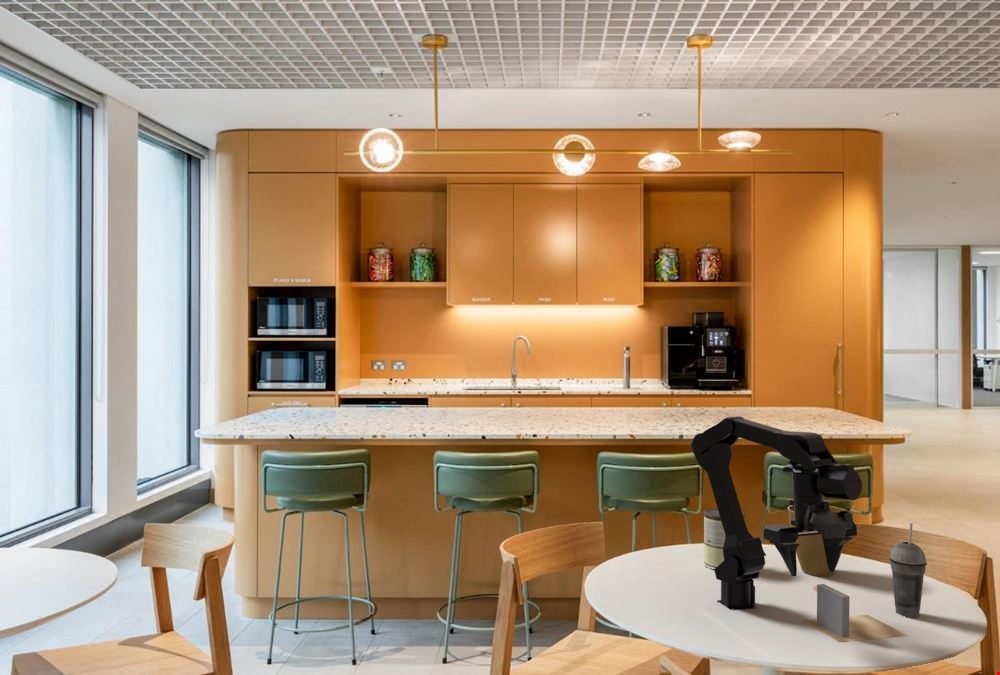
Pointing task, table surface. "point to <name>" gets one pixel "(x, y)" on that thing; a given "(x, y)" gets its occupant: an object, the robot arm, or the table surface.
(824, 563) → the plant pot
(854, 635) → the cork mat
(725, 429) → the robot arm
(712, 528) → the coffee can
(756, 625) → the table surface
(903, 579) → the beverage cup
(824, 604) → the slate tile
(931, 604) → the table surface
